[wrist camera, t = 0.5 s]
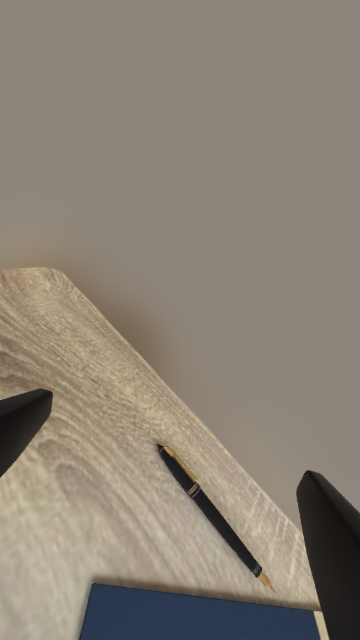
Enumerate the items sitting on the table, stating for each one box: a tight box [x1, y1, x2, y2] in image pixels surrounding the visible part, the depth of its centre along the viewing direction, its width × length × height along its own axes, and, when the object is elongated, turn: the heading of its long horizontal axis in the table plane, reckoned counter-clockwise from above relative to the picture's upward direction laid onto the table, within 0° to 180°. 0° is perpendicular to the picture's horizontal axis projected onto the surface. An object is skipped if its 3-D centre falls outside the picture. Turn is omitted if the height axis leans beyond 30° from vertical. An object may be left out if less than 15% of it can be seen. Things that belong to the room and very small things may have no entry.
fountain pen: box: [158, 444, 276, 593], centre depth 21 cm, size 14×1×2 cm, turn 49°
